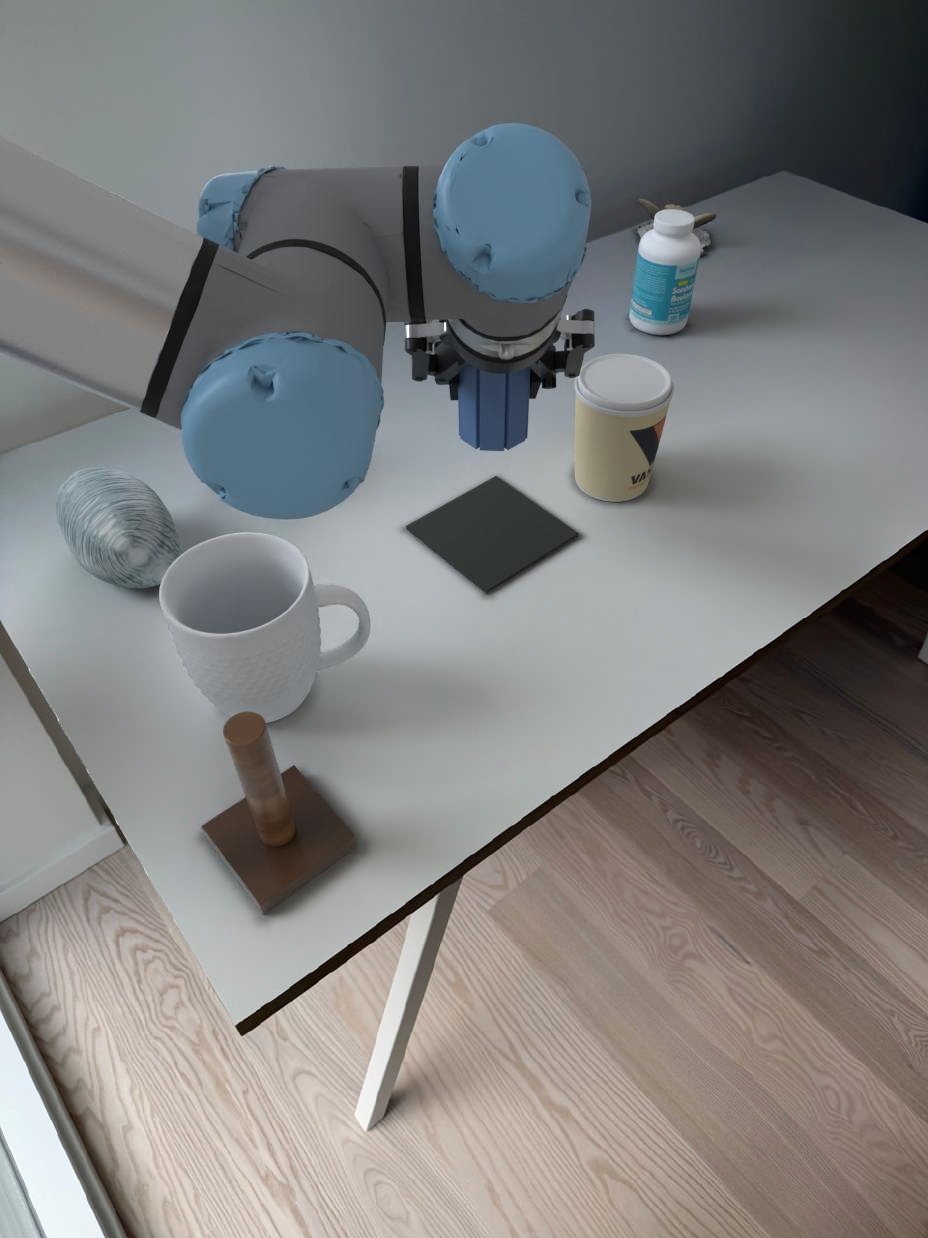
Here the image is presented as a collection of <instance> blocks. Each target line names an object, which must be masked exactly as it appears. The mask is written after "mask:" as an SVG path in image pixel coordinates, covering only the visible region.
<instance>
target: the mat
mask: <svg viewBox="0 0 928 1238" xmlns="http://www.w3.org/2000/svg"><path fill="white" fill-rule="evenodd" d="M405 530H407V531H408V532H409V533H411V534H412V535H413V536H414V537H415V538H417V539H418V540H419V541H420V542H422V543H423V544H424V545H425V546H427V547H428V548H429V549H431V551H433V552H434V553H435V554H437V556H439V557H440V558H442V559H443V560H444V561H445V562H447V563H448V565H450V566H451V567H453V568H454V569H455V570H456V571H458V572H459V573H460V574H462V575H463V576H464V577H465V578H466V579H467V580H469V581H470V582H471V583H473V584H474V585H475V586H476V587H478V588H479V589H480V590H481V591H483V592H484V593H485V594H488V593H490V592H492V591H493V590H495V589H497V588H498V587H500V586H502V585H503V584H505V583H506V582H507V581H509V580H511V579H512V578H514V577H516V576H517V575H519V574H521V573H522V572H523V571H525V570H527V569H528V568H530V567H532V566H533V565H535V564H536V563H538V562H539V561H541V560H542V559H544V558H546V557H547V556H549V555H550V554H552V553H554V552H555V551H557V550H559V549H560V548H561V547H563V546H565V545H567V544H568V543H569V542H571V541H573V540H574V539H576V538H577V537H579V532H578V531H576V530H575V529H573V528H572V527H571V526H569V525H568V524H566V523H564V522H563V521H562V520H560V519H559V518H557V517H556V516H555V515H553V514H552V513H550V512H549V511H547V510H546V509H544V507H542V506H540V505H539V504H537V503H536V502H534V501H533V500H532V499H530V498H529V497H527V496H526V495H525V494H523V493H522V492H520V491H519V490H517V489H516V488H514V487H513V486H512V485H510V484H509V483H507V482H506V481H505V480H504V479H501V478H500V477H498V475H495V476H493V477H491V478H489V479H488V480H486V481H484V482H483V483H481V484H479V485H477V486H475V487H473V488H471V489H469V490H468V491H466V492H464V493H463V494H461V495H459V496H457V497H455V498H454V499H452V500H450V501H448V502H447V503H445V504H443V505H441V506H439V507H437V508H435V509H434V510H432V511H430V512H428V513H427V514H424V515H423V516H421V517H419V518H417V519H416V520H414V521H412V522H410V523H408V524H407V525H405Z"/></svg>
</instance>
